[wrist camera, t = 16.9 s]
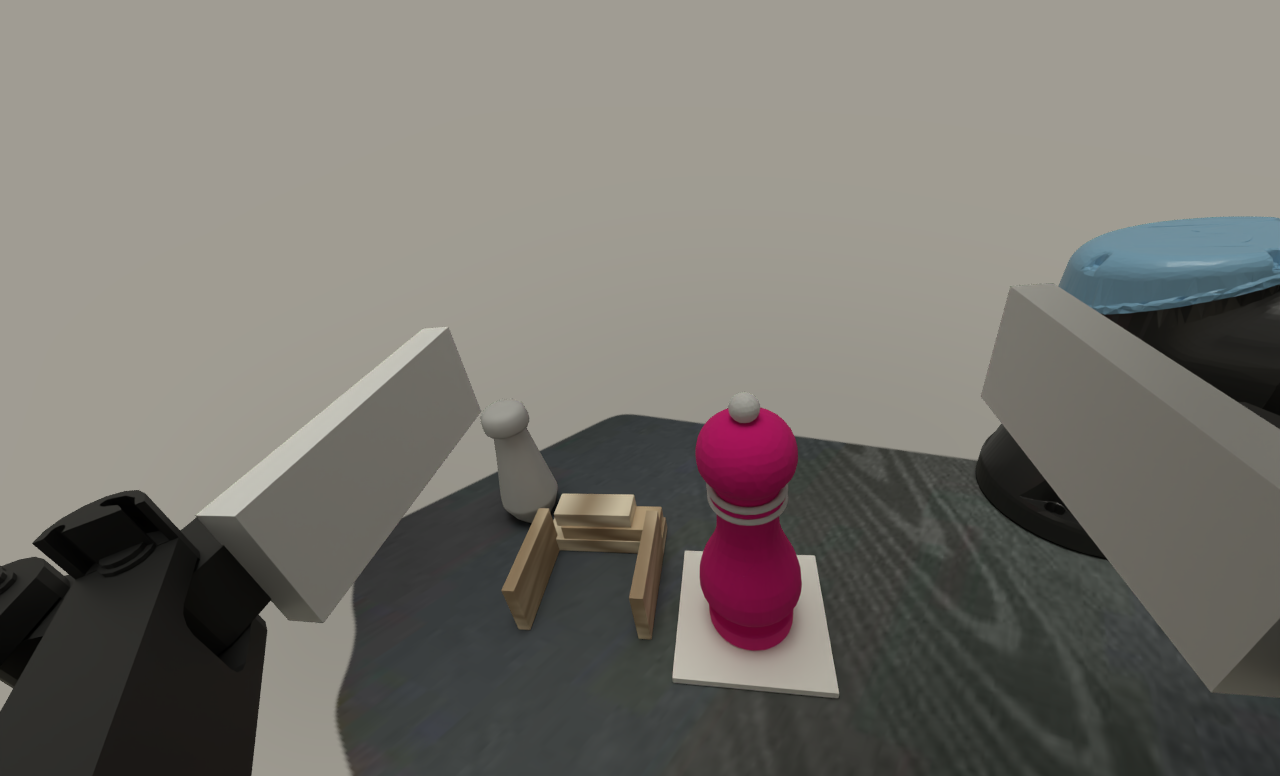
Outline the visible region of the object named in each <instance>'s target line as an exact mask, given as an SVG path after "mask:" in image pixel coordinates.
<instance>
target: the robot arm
mask: <svg viewBox="0 0 1280 776" xmlns="http://www.w3.org/2000/svg"><path fill="white" fill-rule="evenodd" d="M981 397H982V399H983V400H984V401H985V402H986V404H987V405H988V406H989V408H990V409H991V410H992V411H993V413H994V414H995V415H996V416H997V418H998V419H999V420H1000V422H1001V423H1002V424H1001V425H1000V426H999V427H998V429H997V430H996V431H995V432H994V433H993V434H992V435H991V436H990V437H989V438H988V439H987V440H986V441H985V443H984V445H983V446H982V449H981V452H980V455H979V459H978V462H977V465H976V477H977V481H978V483H979V486H980V487H981V489H982V491H983V492H984V494H985V495H986V497H987V498H988V499H989V500H990V501H991V502H992V503H993V504H994V505H995V506H996V507H997V508H998V509H999V510H1000V511H1001V512H1002V513H1004V514H1005V515H1006V516H1007V517H1009V518H1010V519H1012V520H1013V521H1014V522H1016V523H1017V524H1019V525H1021V526H1022V527H1024V528H1026V529H1027V530H1029V531H1031V532H1033V533H1035V534H1037V535H1039V536H1041V537H1043V538H1045V539H1047V540H1049V541H1052V542H1054V543H1056V544H1059V545H1062V546H1064V547H1067V548H1070V549H1073V550H1076V551H1079V552H1083V553H1086V554H1090V555H1094V556H1099V557H1104V558H1107V559H1108V561H1109V562H1110V563H1111V564H1112V566H1113V567H1114V568H1115V570H1116V571H1117V572H1118V573H1119V575H1120V576H1121V577H1122V579H1123V580H1124V581H1125V582H1126V584H1127V585H1128V586H1129V588H1130V589H1131V590H1132V591H1133V593H1134V594H1135V595H1136V597H1137V598H1138V599H1139V600H1140V602H1141V603H1142V604H1143V606H1144V607H1145V608H1146V609H1147V611H1148V612H1149V613H1150V615H1151V616H1152V617H1153V618H1154V620H1155V621H1156V622H1157V624H1158V625H1159V626H1160V627H1161V629H1162V630H1163V631H1164V633H1165V634H1166V635H1167V636H1168V638H1169V639H1170V640H1171V642H1172V643H1173V644H1174V645H1175V647H1176V648H1177V649H1178V651H1179V652H1180V653H1181V654H1182V656H1183V657H1184V658H1185V660H1186V661H1187V662H1188V663H1189V665H1190V666H1191V667H1192V669H1193V670H1194V671H1195V672H1196V674H1197V675H1198V676H1199V678H1200V679H1201V680H1202V681H1203V683H1204V684H1205V685H1206V687H1207V688H1208V689H1209V690H1210V692H1212V693H1225V694H1237V695H1250V696H1263V697H1276V698H1280V219H1279V218H1274V217H1210V218H1195V219H1183V220H1172V221H1163V222H1156V223H1149V224H1143V225H1138V226H1133V227H1128V228H1124V229H1119V230H1116V231H1112V232H1109V233H1106V234H1103V235H1101V236H1098V237H1096V238H1094V239H1092V240H1090V241H1089V242H1087V243H1085V244H1084V245H1082V246H1081V247H1080V248H1079V249H1078V250H1077V251H1076V252H1075V253H1074V254H1073V255H1072V257H1071V258H1070V260H1069V262H1068V264H1067V267H1066V269H1065V272H1064V274H1063V277H1062V279H1061V281H1060V284H1059V286H1057V285H1055V284H1054V283H1047V284H1033V285H1019V286H1010V290H1009V293H1008V297H1007V301H1006V305H1005V308H1004V312H1003V316H1002V320H1001V323H1000V327H999V330H998V334H997V338H996V342H995V345H994V349H993V353H992V357H991V360H990V364H989V368H988V371H987V375H986V379H985V382H984V386H983V390H982V394H981ZM480 412H481V410H480V407H479V404H478V402H477V399H476V397H475V394H474V392H473V389H472V386H471V384H470V381H469V379H468V376H467V374H466V371H465V368H464V366H463V363H462V361H461V358H460V355H459V353H458V351H457V348H456V345H455V343H454V340H453V338H452V335H451V332H450V330H449V327H441V328H427V329H422V330H421V331H420V332H418V333H417V334H416V335H415V336H414V337H412V338H411V339H410V340H409V341H408V342H406V343H405V344H404V345H403V346H401V347H400V348H399V349H398V350H397V351H395V352H394V353H393V354H392V355H391V356H389V357H388V358H387V359H386V360H384V361H383V362H382V363H381V364H379V365H378V366H377V367H376V368H375V369H373V370H372V371H371V372H370V373H369V374H367V375H366V376H365V377H364V378H362V379H361V380H360V381H359V382H357V383H356V384H355V385H354V386H353V387H352V388H350V389H349V390H348V391H347V392H345V393H344V394H343V395H342V396H340V397H339V398H338V399H337V400H336V401H334V402H333V403H332V404H331V405H329V406H328V407H327V408H326V409H325V410H323V411H322V412H321V413H320V414H319V415H317V416H316V417H315V418H314V419H312V420H311V421H310V422H309V423H307V424H306V425H305V426H304V427H303V428H301V429H300V430H299V431H298V432H296V433H295V434H294V435H293V436H292V437H290V438H289V439H288V440H287V441H286V442H284V443H283V444H282V445H281V446H279V448H277V449H276V450H275V451H273V452H272V453H271V454H270V455H269V456H267V457H266V458H265V459H264V460H262V461H261V462H260V463H259V464H258V465H256V466H255V467H254V468H253V469H251V470H250V471H249V472H248V473H246V474H245V475H244V476H243V477H242V478H240V479H239V480H238V481H237V482H236V483H234V484H233V485H232V486H231V487H230V488H228V489H227V490H226V491H225V492H223V493H222V494H221V495H220V496H218V497H217V498H216V499H215V500H214V501H212V502H211V503H210V504H209V505H208V506H206V507H205V508H204V509H203V510H201V511H200V512H199V513H198V514H196V515H195V516H196V517H197V518H195V519H194V520H193V521H192V522H191V523H189V524H188V525H187V526H186V527H184V528H183V529H182V530H181V531H180V530H179V529H178V528H177V527H176V526H175V525H174V524H173V523H172V522H171V521H170V519H169V518H167V517H166V515H165V514H164V513H163V512H162V511H161V510H160V509H159V508H158V507H157V506H156V505H155V503H153V501H152V500H151V499H150V498H149V497H148V496H147V495H146V494H145V493H143V492H141V491H139V490H134V491H124V492H120V493H117V494H113V495H110V496H106V497H104V498H101V499H99V500H97V501H94V502H92V503H90V504H88V505H85V506H83V507H81V508H80V509H78V510H76V511H74V512H72V513H71V514H69V515H67V516H65V517H63V518H62V519H60V520H59V521H58V522H56V523H55V524H53V525H52V526H51V527H49V528H48V529H46V530H45V531H44V532H43V533H42V534H41V535H40V536H39V537H38V538H37V539H36V540H35V541H34V542H33V545H35V546H36V547H37V548H38V549H39V550H41V551H42V552H43V553H44V554H45V555H46V556H48V557H49V558H50V559H51V560H52V561H54V562H55V563H56V564H57V565H58V566H60V567H61V568H62V569H63V570H64V571H66V572H67V573H68V574H69V575H66V576H63V575H62V574H61V573H60V572H59V571H57V570H56V569H55V568H54V567H53V566H51V565H50V564H49V563H48V562H46V561H45V560H44V559H41V558H37V557H31V558H26V559H21V560H17V561H15V562H12V563H9V564H6V565H4V566H0V680H1V681H2V682H4V683H5V684H7V685H9V686H10V687H12V688H13V690H12V692H11V694H10V695H9V697H8V699H7V701H6V703H5V704H4V706H3V708H2V710H1V711H0V776H251V773H252V764H253V755H254V746H255V737H256V728H257V719H258V709H259V700H260V691H261V682H262V673H263V664H264V655H265V645H266V636H267V627H266V622H265V621H264V620H263V619H262V618H261V617H260V616H259V615H258V614H259V613H260V612H261V611H262V610H263V609H264V607H265V606H266V605H267V604H268V603H269V602H270V601H272V602H273V603H274V604H275V605H276V607H277V608H278V609H279V610H280V611H281V612H282V613H283V614H284V616H285V617H286V618H287V619H288V620H290V621H303V622H316V623H324V622H325V620H326V619H327V618H328V616H329V615H330V614H331V612H332V611H333V610H334V608H335V607H336V605H337V604H338V603H339V601H340V600H341V599H342V597H343V596H344V595H345V594H346V592H347V591H348V589H349V588H350V587H351V585H352V584H353V583H354V581H355V580H356V579H357V577H358V576H359V575H360V573H361V572H362V571H363V569H364V568H365V567H366V565H367V564H368V563H369V561H370V560H371V559H372V557H373V556H374V555H375V553H376V552H377V551H378V549H379V548H380V547H381V545H382V544H383V543H384V541H385V540H386V539H387V537H388V536H389V534H390V533H391V532H392V530H393V529H394V528H395V526H396V525H397V524H398V522H399V521H400V520H401V518H402V517H403V516H404V514H405V513H406V512H407V510H408V509H409V508H410V506H411V505H412V504H413V502H414V501H415V499H416V498H417V497H418V496H419V494H420V493H421V491H422V490H423V489H424V488H425V486H426V485H427V484H428V482H429V481H430V480H431V478H432V477H433V475H434V474H435V473H436V471H437V470H438V469H439V467H440V466H441V465H442V463H443V462H444V461H445V459H446V458H447V457H448V455H449V454H450V453H451V451H452V450H453V449H454V447H455V446H456V445H457V443H458V442H459V441H460V439H461V438H462V437H463V435H464V434H465V433H466V431H467V430H468V429H469V427H470V426H471V424H472V423H473V422H474V421H475V419H476V418H477V416H478V415H479V414H480Z"/></svg>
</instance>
